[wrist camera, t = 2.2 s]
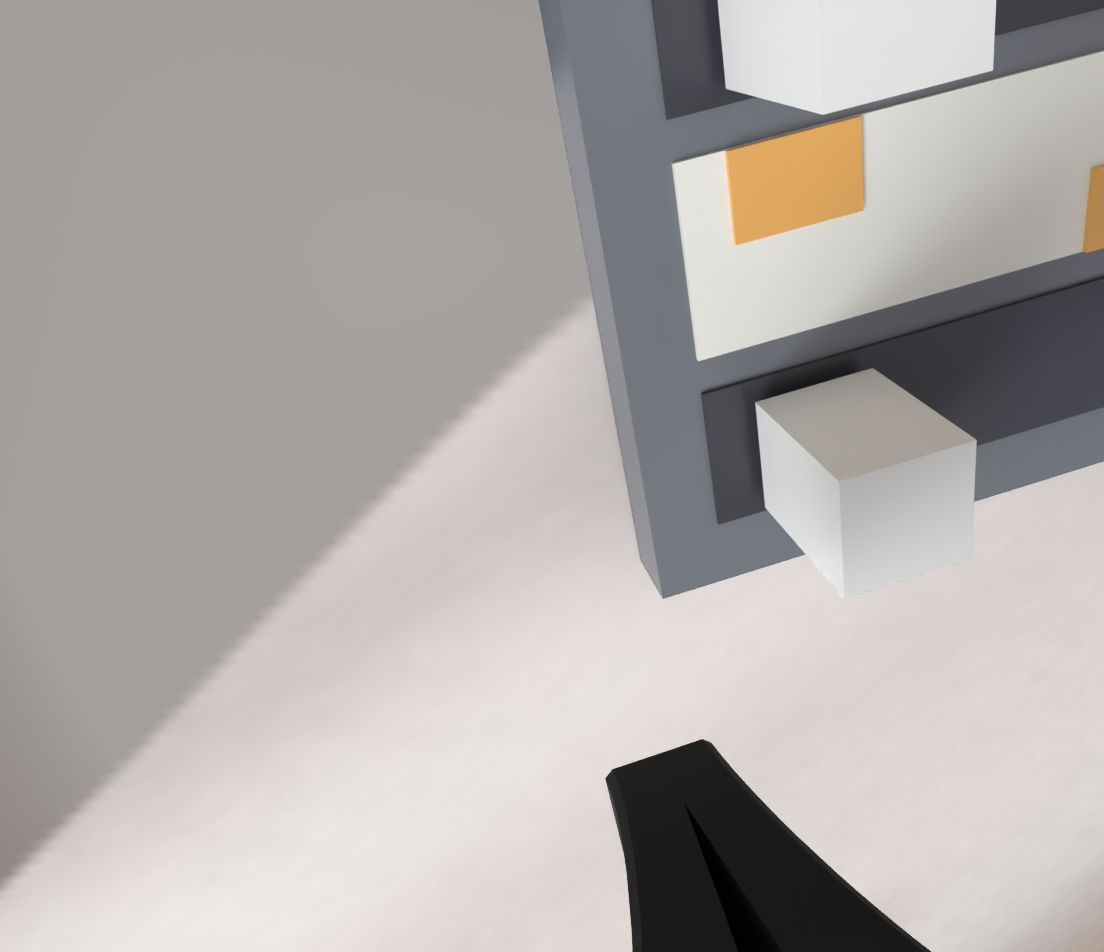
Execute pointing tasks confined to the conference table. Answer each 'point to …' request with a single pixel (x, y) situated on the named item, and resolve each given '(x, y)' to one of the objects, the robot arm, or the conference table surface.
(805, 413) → the switch
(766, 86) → the switch
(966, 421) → the dip bank
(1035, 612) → the conference table surface
